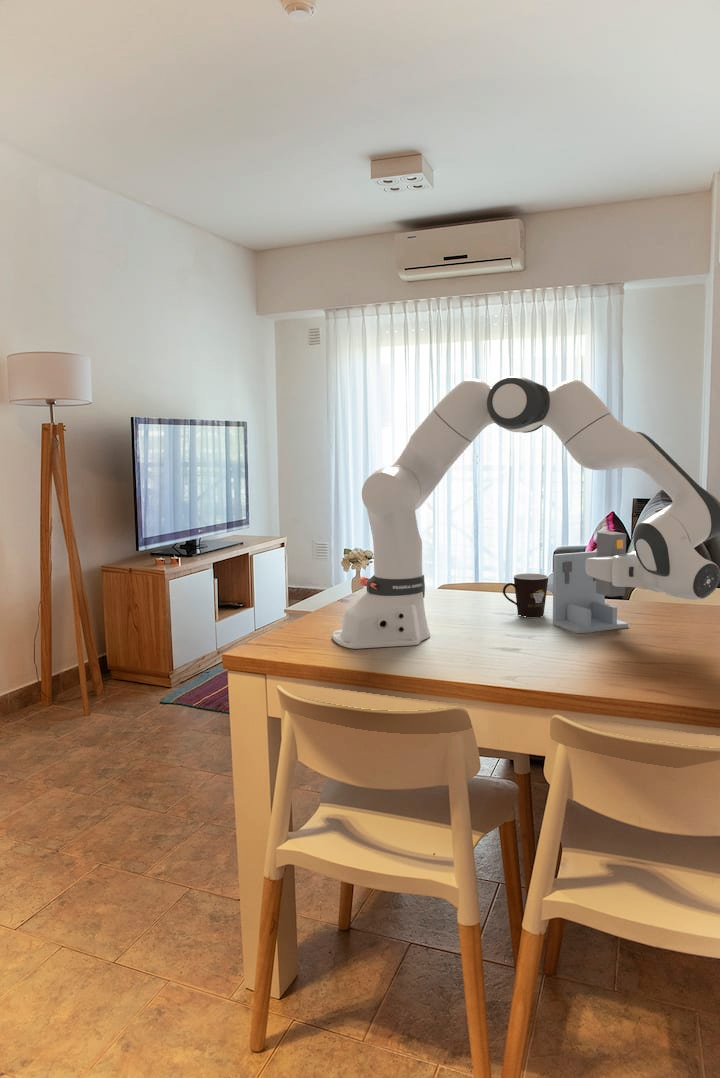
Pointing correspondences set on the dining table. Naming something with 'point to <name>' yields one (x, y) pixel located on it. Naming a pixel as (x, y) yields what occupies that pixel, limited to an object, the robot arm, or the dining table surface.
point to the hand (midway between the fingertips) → (608, 559)
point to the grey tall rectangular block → (606, 547)
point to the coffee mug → (529, 594)
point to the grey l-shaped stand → (580, 597)
